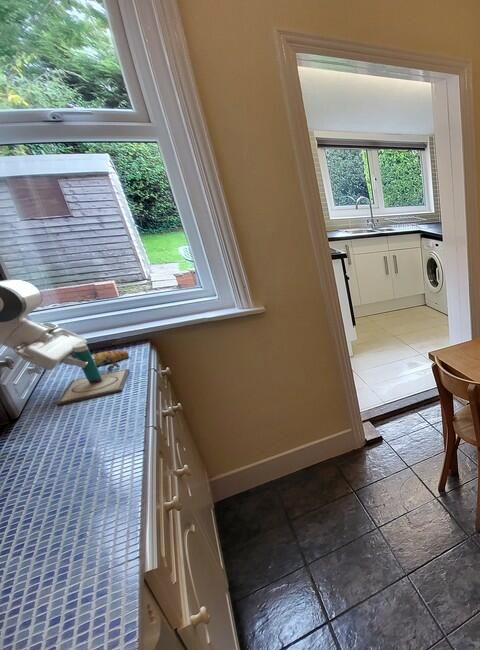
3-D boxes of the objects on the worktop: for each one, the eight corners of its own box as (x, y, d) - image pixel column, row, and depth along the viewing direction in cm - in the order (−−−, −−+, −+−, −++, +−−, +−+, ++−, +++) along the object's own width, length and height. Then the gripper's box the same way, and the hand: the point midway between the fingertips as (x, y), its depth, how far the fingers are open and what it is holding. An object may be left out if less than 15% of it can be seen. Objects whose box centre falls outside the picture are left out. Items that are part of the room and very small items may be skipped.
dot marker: (86, 383, 128) (68, 347, 123) (97, 378, 131) (80, 343, 126) (94, 383, 127) (77, 347, 122) (105, 379, 130) (89, 344, 125)
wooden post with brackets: (120, 366, 140) (108, 355, 138) (98, 378, 140) (86, 368, 138) (123, 364, 142) (111, 354, 140) (102, 376, 141) (90, 366, 139)
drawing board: (57, 406, 117) (56, 403, 116) (73, 382, 132) (71, 379, 131) (121, 391, 124) (120, 388, 123) (129, 370, 139) (128, 368, 138)
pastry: (128, 354, 153) (123, 345, 152) (131, 359, 149) (126, 349, 148) (94, 362, 147) (89, 352, 146) (96, 367, 143) (91, 357, 141)
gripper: (16, 341, 110) (80, 366, 118) (55, 320, 127) (109, 344, 135) (2, 359, 110) (67, 384, 118) (43, 336, 128) (97, 359, 135)
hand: (89, 362), depth 127 cm, fingers closed on dot marker, 3 cm apart
